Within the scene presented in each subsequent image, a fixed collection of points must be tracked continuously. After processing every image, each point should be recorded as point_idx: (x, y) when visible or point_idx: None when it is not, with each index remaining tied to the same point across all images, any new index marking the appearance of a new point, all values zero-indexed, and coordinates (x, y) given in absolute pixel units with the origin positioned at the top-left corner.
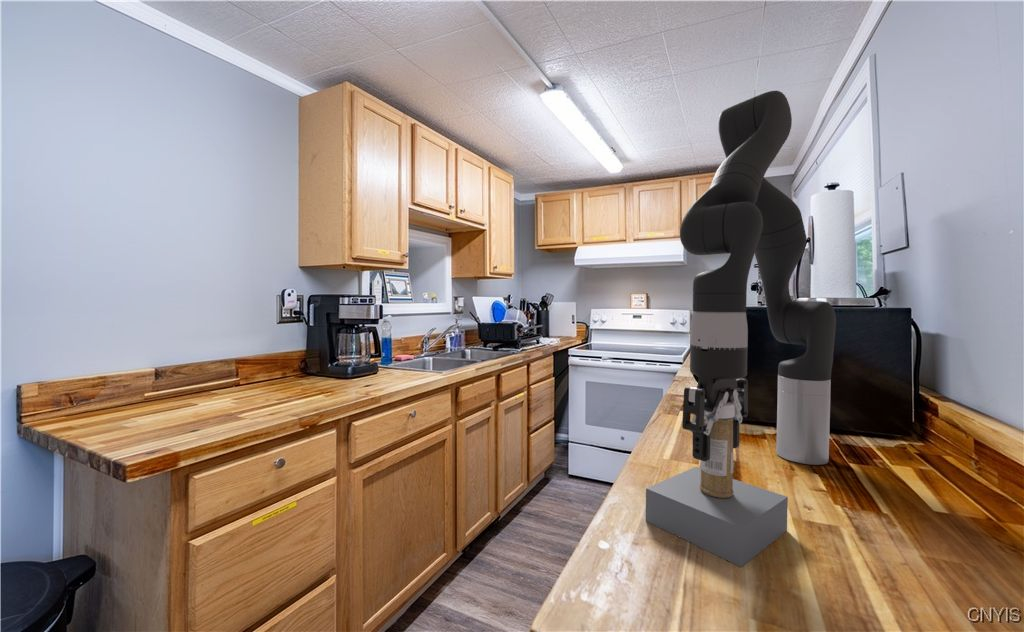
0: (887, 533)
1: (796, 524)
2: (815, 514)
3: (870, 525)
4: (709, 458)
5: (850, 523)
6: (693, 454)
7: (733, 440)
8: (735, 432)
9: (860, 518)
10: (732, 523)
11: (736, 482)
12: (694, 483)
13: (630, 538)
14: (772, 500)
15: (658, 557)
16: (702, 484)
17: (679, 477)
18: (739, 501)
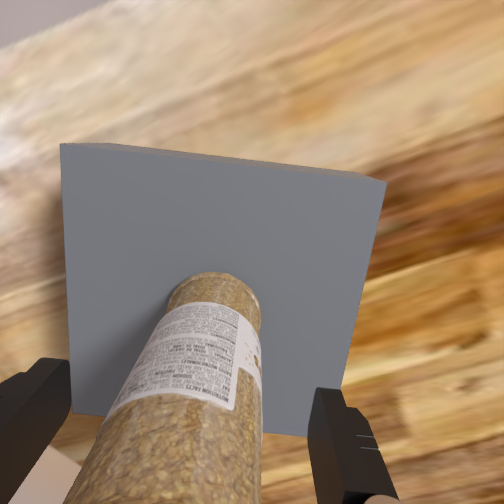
0: (435, 491)
1: (360, 385)
2: (440, 401)
3: (453, 471)
4: (64, 418)
5: (438, 449)
6: (14, 377)
7: (313, 453)
8: (321, 500)
9: (477, 458)
10: (73, 394)
11: (334, 328)
12: (227, 243)
13: (7, 160)
14: (277, 420)
15: (2, 242)
16: (176, 296)
17: (239, 184)
18: None
